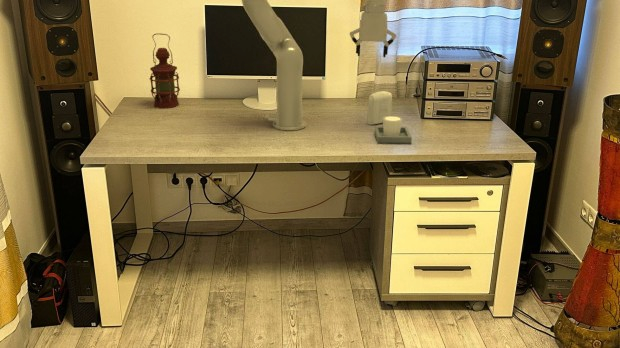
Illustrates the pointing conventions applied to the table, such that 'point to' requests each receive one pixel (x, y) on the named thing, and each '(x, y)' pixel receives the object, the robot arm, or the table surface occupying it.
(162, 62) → the lantern
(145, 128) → the table surface
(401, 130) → the parts tray
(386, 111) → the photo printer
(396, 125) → the white cylinder
